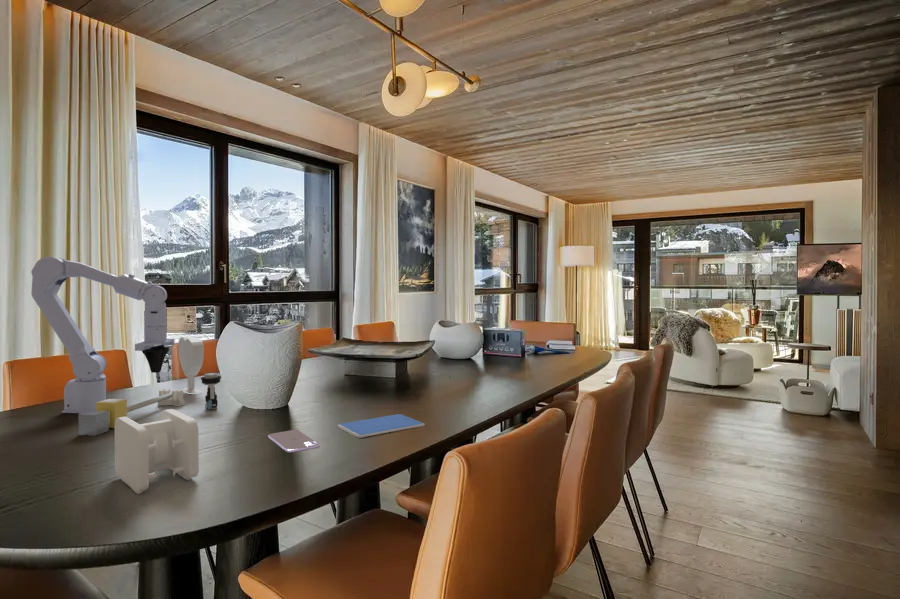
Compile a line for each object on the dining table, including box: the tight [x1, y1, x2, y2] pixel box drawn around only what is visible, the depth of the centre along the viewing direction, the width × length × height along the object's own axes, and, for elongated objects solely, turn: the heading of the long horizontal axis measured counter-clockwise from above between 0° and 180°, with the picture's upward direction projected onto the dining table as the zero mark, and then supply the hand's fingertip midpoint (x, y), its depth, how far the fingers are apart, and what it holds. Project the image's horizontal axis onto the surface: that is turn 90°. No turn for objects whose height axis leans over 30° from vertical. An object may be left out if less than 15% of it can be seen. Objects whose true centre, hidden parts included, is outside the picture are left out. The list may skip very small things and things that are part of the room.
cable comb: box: [157, 388, 185, 407], centre depth 151 cm, size 7×2×4 cm, turn 84°
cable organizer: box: [114, 408, 200, 495], centre depth 95 cm, size 15×11×12 cm
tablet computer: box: [337, 413, 426, 439], centre depth 132 cm, size 19×13×1 cm, turn 128°
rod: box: [127, 391, 172, 413], centre depth 139 cm, size 1×27×1 cm, turn 174°
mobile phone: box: [267, 429, 321, 453], centre depth 118 cm, size 8×1×15 cm
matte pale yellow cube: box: [96, 398, 128, 429], centre depth 129 cm, size 5×4×6 cm
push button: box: [200, 372, 222, 410], centre depth 148 cm, size 7×5×10 cm
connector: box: [77, 410, 110, 437], centre depth 124 cm, size 4×5×5 cm
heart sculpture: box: [177, 336, 205, 393], centre depth 171 cm, size 16×5×18 cm, turn 43°
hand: (155, 372), depth 151 cm, fingers closed
